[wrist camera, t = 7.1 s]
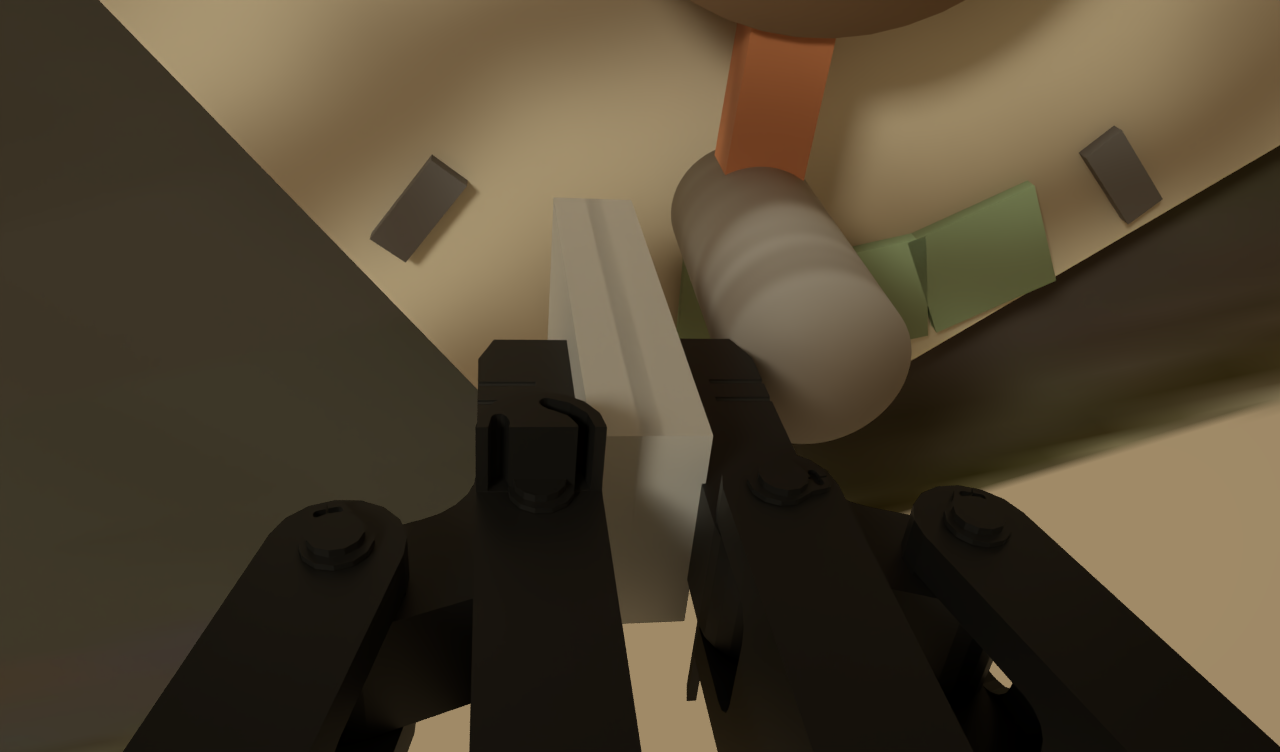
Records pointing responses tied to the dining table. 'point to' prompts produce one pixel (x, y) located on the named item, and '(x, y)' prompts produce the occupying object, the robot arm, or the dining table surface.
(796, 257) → the dial
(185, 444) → the dining table surface
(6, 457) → the dining table surface
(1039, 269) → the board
